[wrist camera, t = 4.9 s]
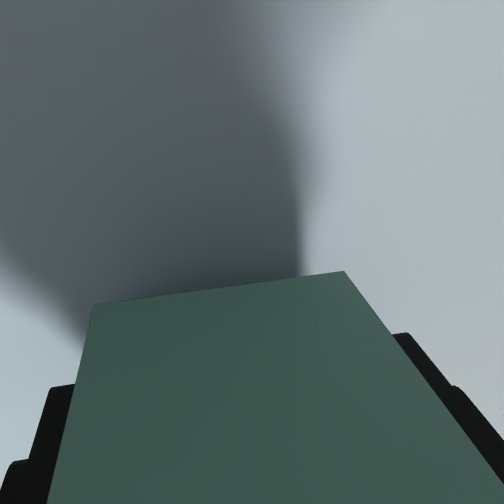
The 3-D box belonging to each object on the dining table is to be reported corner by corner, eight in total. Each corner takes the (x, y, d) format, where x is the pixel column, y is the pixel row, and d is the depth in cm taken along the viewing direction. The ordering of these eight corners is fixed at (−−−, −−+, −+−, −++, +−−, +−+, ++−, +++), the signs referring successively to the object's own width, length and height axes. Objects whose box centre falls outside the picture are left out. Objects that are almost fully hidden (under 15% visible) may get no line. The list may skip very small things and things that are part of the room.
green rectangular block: (94, 304, 11) (-27, 810, 4) (343, 271, 12) (621, 642, 5) (123, 432, 13) (77, 944, 6) (340, 396, 14) (538, 804, 6)
